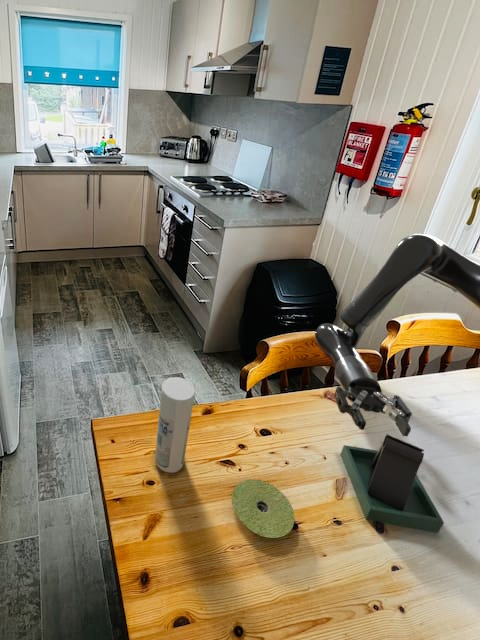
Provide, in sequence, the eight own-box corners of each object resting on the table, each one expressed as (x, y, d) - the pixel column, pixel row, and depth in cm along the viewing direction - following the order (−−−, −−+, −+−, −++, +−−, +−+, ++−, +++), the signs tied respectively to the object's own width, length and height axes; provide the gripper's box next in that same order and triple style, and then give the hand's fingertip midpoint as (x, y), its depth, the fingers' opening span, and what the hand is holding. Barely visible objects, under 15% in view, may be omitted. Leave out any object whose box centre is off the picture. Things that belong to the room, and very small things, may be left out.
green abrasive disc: (281, 558, 68) (284, 551, 67) (221, 517, 74) (222, 510, 73) (299, 508, 76) (301, 501, 76) (243, 475, 83) (244, 468, 82)
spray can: (149, 450, 87) (157, 379, 79) (177, 444, 89) (186, 374, 81) (160, 476, 81) (169, 403, 73) (189, 469, 83) (200, 397, 75)
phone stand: (371, 462, 85) (388, 421, 80) (404, 478, 82) (424, 436, 77) (366, 494, 79) (385, 451, 74) (402, 512, 75) (424, 469, 71)
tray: (401, 464, 86) (405, 455, 85) (438, 533, 73) (444, 522, 72) (340, 454, 88) (343, 444, 87) (365, 519, 75) (370, 509, 74)
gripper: (329, 361, 97) (353, 411, 82) (392, 370, 95) (428, 422, 80) (322, 385, 100) (344, 437, 85) (382, 394, 98) (415, 448, 83)
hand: (385, 430), depth 83 cm, fingers open, 8 cm apart
